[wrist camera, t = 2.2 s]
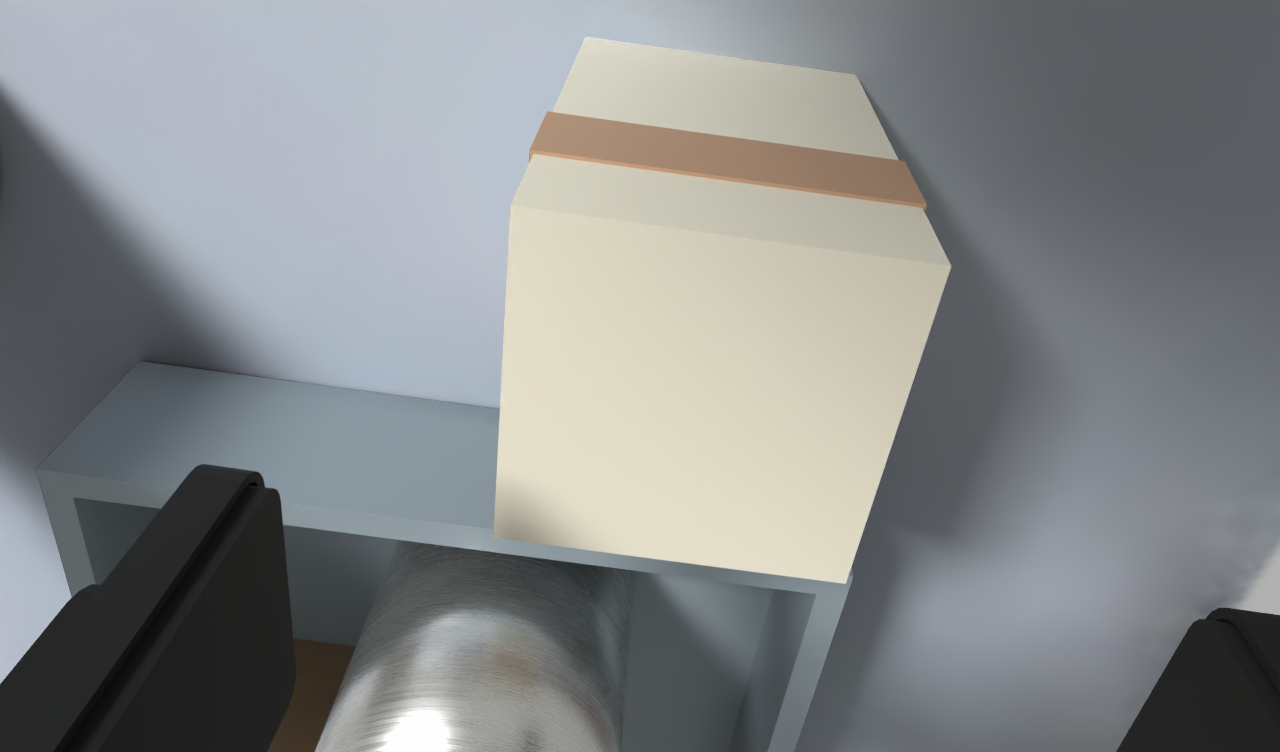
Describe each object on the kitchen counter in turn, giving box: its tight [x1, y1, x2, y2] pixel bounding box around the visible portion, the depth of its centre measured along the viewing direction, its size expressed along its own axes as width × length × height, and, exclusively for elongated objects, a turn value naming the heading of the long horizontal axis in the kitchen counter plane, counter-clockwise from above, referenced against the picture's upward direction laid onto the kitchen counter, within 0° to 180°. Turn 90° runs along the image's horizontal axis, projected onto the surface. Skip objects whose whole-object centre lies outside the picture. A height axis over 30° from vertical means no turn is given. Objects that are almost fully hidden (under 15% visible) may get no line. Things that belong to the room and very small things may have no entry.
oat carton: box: [493, 37, 951, 584], centre depth 15 cm, size 5×5×8 cm
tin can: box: [315, 540, 636, 752], centre depth 20 cm, size 6×6×8 cm
